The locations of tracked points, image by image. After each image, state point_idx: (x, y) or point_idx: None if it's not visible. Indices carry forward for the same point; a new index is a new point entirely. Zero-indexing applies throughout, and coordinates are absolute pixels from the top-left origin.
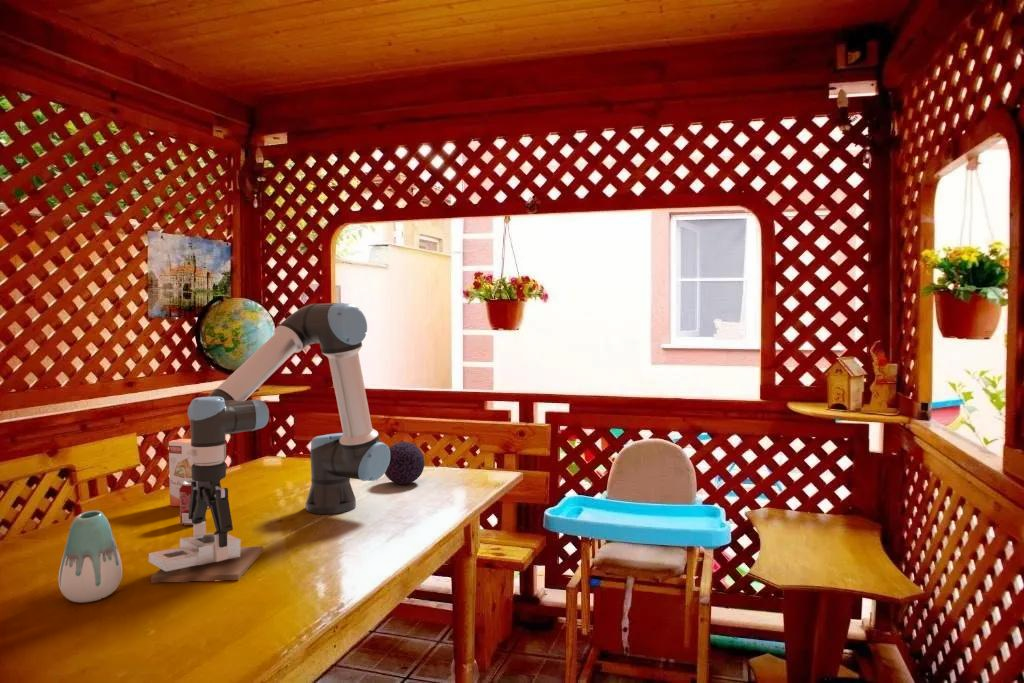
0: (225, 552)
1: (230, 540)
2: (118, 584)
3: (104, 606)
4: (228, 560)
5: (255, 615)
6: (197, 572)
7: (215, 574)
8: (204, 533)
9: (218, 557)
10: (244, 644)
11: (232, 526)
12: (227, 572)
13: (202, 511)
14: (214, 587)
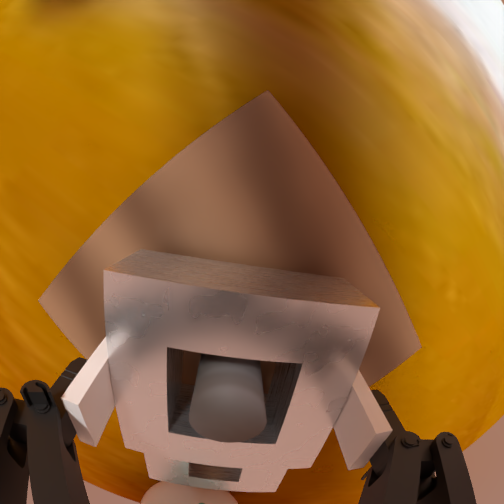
0: None
1: (345, 356)
2: (224, 495)
3: (257, 493)
4: None
5: (494, 375)
6: None
7: None
8: (106, 369)
9: None
10: (498, 403)
11: (459, 445)
12: (386, 362)
13: (77, 498)
14: (382, 390)
